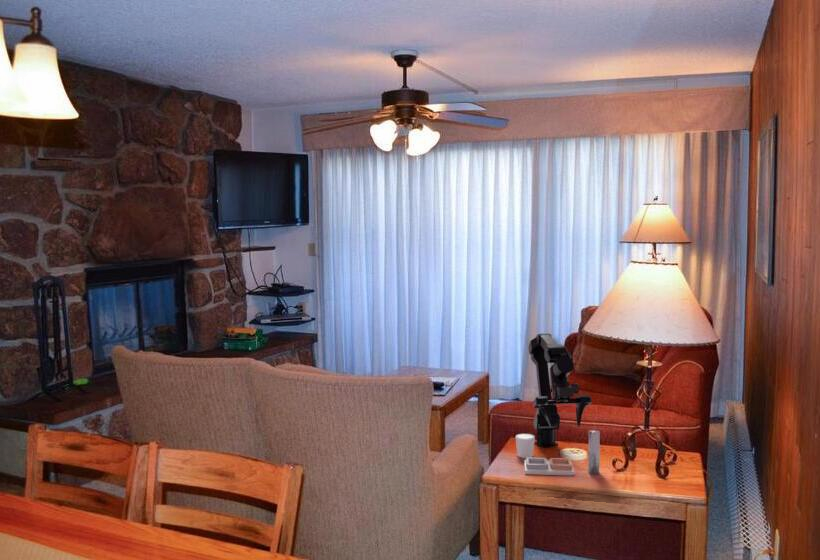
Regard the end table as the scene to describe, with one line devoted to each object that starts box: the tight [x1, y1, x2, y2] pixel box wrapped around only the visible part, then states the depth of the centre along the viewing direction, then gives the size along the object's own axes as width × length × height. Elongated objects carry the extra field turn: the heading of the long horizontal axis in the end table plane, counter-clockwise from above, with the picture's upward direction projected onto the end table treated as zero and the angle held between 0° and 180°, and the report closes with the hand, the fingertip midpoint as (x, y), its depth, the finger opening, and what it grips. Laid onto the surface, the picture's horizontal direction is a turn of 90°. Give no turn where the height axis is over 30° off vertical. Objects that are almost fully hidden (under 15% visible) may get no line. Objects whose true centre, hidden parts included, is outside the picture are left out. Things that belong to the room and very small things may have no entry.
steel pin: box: [587, 429, 601, 476], centre depth 244 cm, size 4×4×14 cm
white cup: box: [515, 433, 536, 459], centre depth 263 cm, size 7×7×7 cm
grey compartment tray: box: [523, 457, 575, 476], centre depth 249 cm, size 10×16×3 cm, turn 83°
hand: (565, 426), depth 245 cm, fingers open, 9 cm apart
